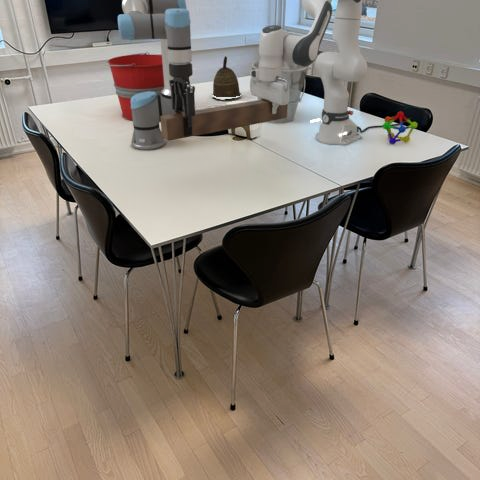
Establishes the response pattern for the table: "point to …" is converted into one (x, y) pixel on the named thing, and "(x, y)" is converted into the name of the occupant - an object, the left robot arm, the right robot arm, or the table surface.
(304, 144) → the table surface
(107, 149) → the table surface
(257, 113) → the beam
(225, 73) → the bell
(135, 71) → the bucket
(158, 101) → the left robot arm
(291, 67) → the bucket
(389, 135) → the educational toy
